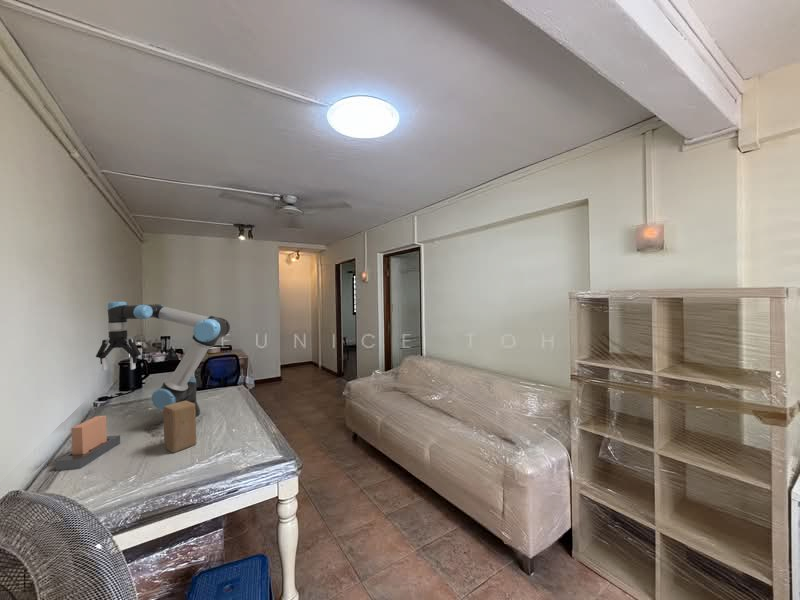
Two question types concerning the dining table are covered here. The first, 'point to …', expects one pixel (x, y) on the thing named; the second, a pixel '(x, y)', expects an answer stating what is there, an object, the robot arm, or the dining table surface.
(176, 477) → the dining table surface
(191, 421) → the wooden block
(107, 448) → the gray slotted base
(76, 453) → the orange upright block
